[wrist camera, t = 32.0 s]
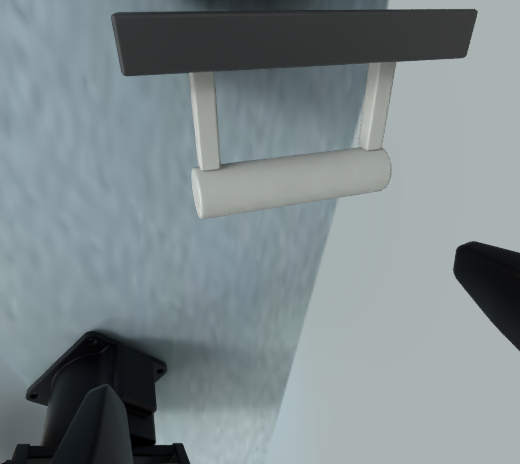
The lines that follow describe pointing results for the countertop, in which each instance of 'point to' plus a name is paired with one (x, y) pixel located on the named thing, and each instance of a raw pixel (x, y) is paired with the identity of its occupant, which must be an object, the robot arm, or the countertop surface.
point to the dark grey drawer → (284, 56)
